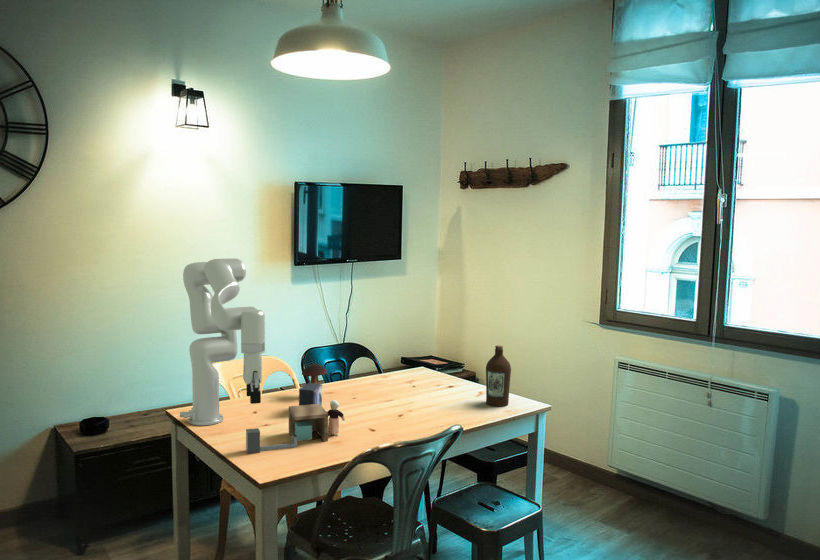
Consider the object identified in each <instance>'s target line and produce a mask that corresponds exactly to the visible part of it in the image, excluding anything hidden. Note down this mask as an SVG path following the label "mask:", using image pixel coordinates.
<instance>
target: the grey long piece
mask: <svg viewBox="0 0 820 560" xmlns="http://www.w3.org/2000/svg"><path fill="white" fill-rule="evenodd" d="M290 435H291V442H289V443H279V444H271V445H270V444H268V445H261V431H260V429H259V428H257V427H256V428H255V427H254V428H246V429H245V451H246V454H247V455H251V454H259V453H261V452H264V451H274V450H283V449H292V448H298V440H297V436H296V434H295V433H291V434H290Z"/></svg>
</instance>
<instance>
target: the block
mask: <svg viewBox="0 0 820 560" xmlns="http://www.w3.org/2000/svg"><path fill="white" fill-rule="evenodd" d="M295 434H296V436H297V441H307V440H313V431H312V425H311V423H310V422H309V421H305V422H295Z"/></svg>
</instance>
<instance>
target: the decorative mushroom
mask: <svg viewBox="0 0 820 560" xmlns="http://www.w3.org/2000/svg"><path fill="white" fill-rule="evenodd" d="M327 374H328V371H327V369H326V368H325V367H324V366H322V365H321V364H319V363H315V362H314V363H311V364H309V365H307V366H306V367H305V368H304V369H303V370H302V372H301V375H302V376H304V377H310V380H309V383H315V384H320V382H319V381H320V380H319V377H320V376H323V375H327Z"/></svg>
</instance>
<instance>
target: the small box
mask: <svg viewBox="0 0 820 560" xmlns="http://www.w3.org/2000/svg"><path fill="white" fill-rule="evenodd" d="M311 404H320V405H321V406H322V407H323V384H321V383H319V384H315V383H310V382H307V383H306V384H305V385H303V386H302V387H300V388H299V391H298V406H299V405H311Z"/></svg>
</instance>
